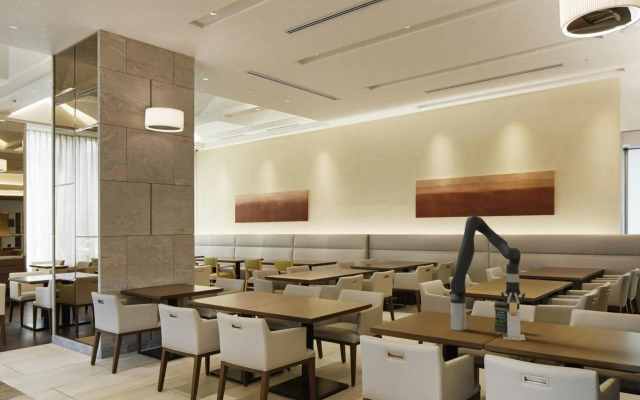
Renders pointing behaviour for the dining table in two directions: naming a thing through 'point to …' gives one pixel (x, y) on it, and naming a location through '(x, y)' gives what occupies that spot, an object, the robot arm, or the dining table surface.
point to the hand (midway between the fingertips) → (513, 309)
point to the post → (513, 306)
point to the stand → (513, 327)
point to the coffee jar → (500, 316)
